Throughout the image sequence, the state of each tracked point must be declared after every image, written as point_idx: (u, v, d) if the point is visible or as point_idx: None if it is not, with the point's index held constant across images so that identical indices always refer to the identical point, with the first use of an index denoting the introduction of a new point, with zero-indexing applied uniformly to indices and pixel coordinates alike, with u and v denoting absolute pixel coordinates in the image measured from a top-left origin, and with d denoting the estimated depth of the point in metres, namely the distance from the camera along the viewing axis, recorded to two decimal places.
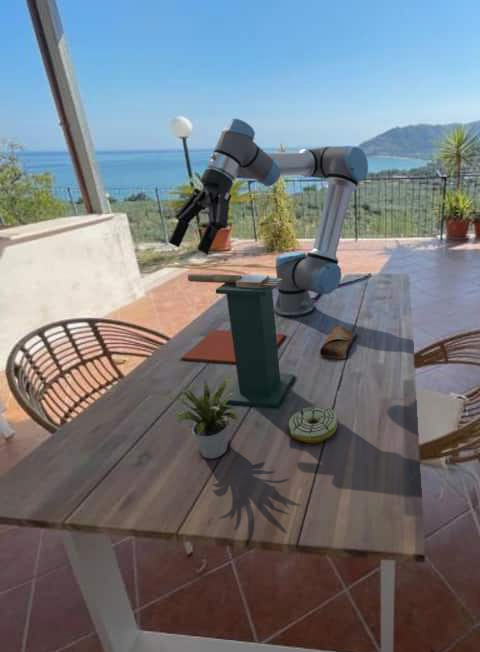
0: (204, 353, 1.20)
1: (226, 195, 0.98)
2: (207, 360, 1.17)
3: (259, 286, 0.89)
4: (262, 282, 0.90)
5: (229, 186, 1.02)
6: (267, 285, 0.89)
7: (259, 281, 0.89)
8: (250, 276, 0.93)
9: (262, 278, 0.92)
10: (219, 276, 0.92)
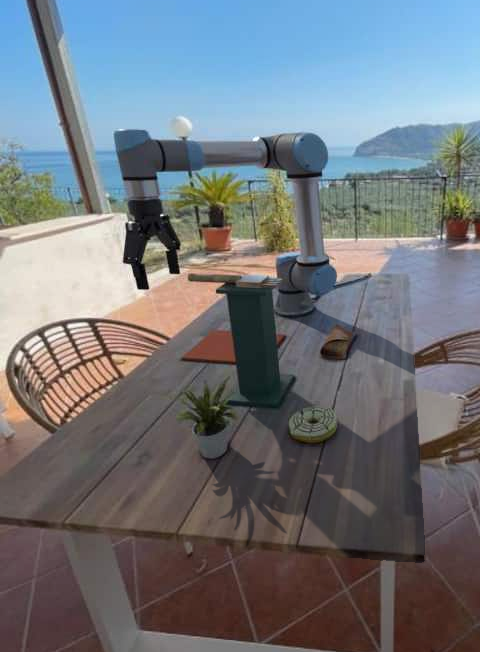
0: (204, 353, 1.20)
1: (129, 226, 0.91)
2: (207, 360, 1.17)
3: (259, 286, 0.89)
4: (262, 282, 0.90)
5: (143, 209, 0.92)
6: (267, 285, 0.89)
7: (259, 281, 0.89)
8: (250, 276, 0.93)
9: (262, 278, 0.92)
10: (219, 276, 0.92)
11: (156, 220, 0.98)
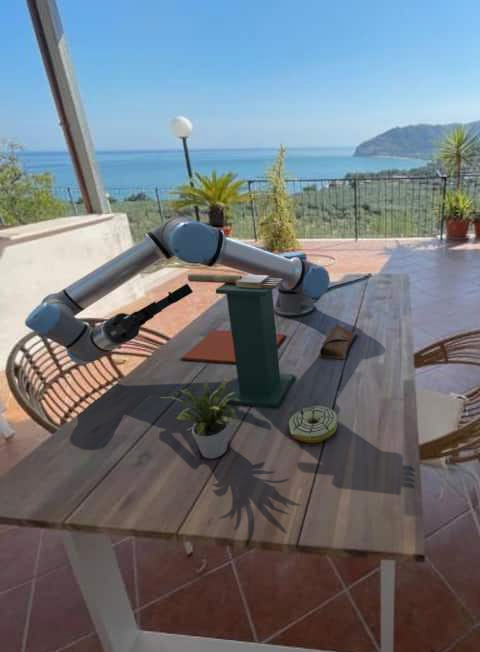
0: (204, 353, 1.20)
1: (113, 334, 0.95)
2: (207, 360, 1.17)
3: (259, 286, 0.89)
4: (262, 282, 0.90)
5: (109, 327, 0.99)
6: (267, 285, 0.89)
7: (259, 281, 0.89)
8: (250, 276, 0.93)
9: (262, 278, 0.92)
10: (219, 276, 0.92)
11: None
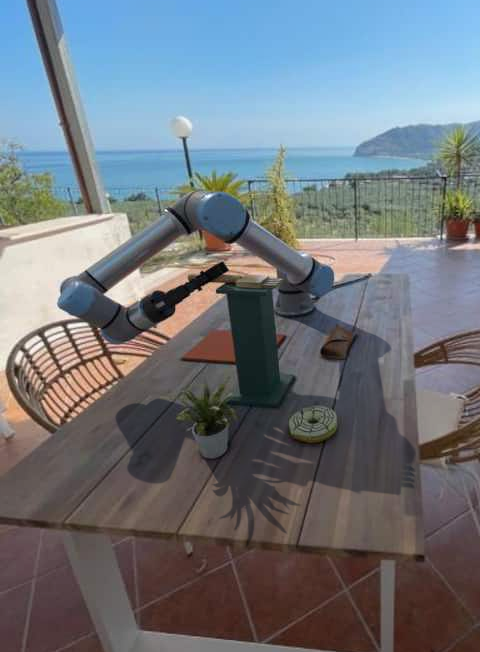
0: (204, 353, 1.20)
1: (160, 305, 0.91)
2: (207, 360, 1.17)
3: (259, 286, 0.89)
4: (262, 282, 0.90)
5: (146, 304, 0.95)
6: (267, 285, 0.89)
7: (259, 281, 0.89)
8: (250, 276, 0.93)
9: (262, 278, 0.92)
10: (219, 276, 0.92)
11: None
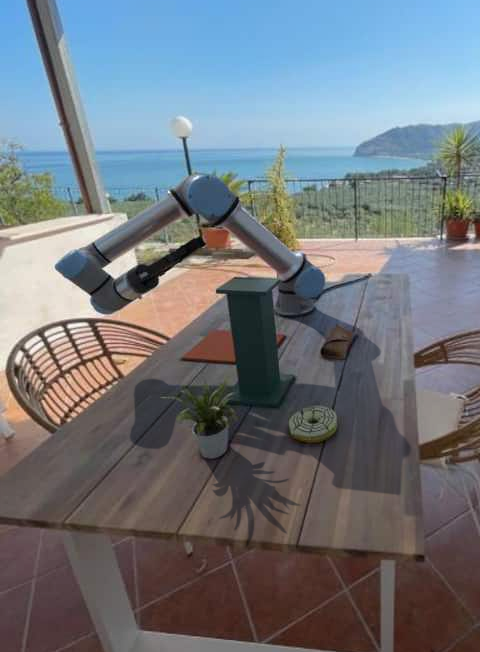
0: (204, 353, 1.20)
1: (144, 275, 1.00)
2: (207, 360, 1.17)
3: (233, 257, 0.99)
4: (235, 254, 1.00)
5: (131, 276, 1.04)
6: (240, 256, 0.99)
7: (233, 253, 0.99)
8: (225, 249, 1.03)
9: (236, 251, 1.01)
10: (197, 249, 1.02)
11: None
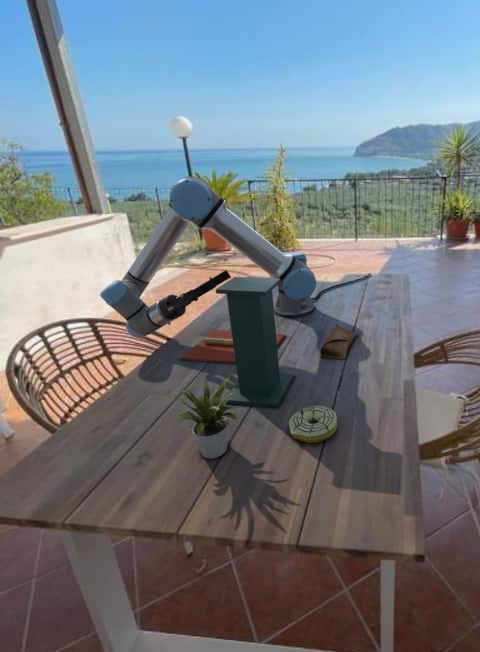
0: (204, 353, 1.20)
1: (170, 309, 1.16)
2: (207, 360, 1.17)
3: None
4: None
5: (163, 306, 1.20)
6: None
7: None
8: None
9: None
10: (227, 340, 1.24)
11: None
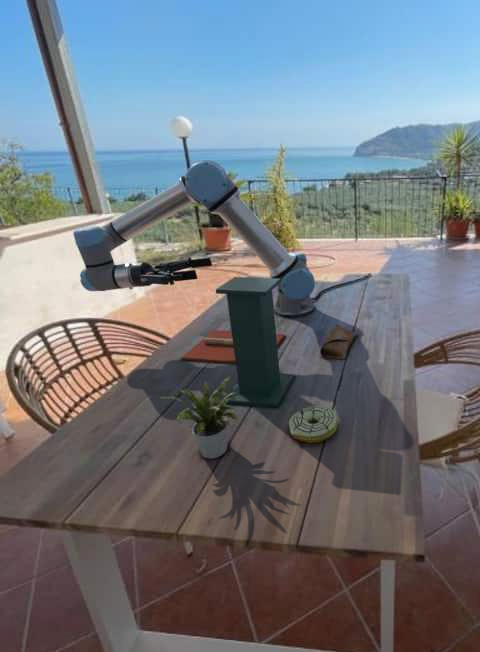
0: (204, 353, 1.20)
1: (143, 280, 1.14)
2: (207, 360, 1.17)
3: None
4: None
5: (135, 272, 1.17)
6: None
7: None
8: None
9: None
10: (227, 340, 1.24)
11: (155, 268, 1.21)
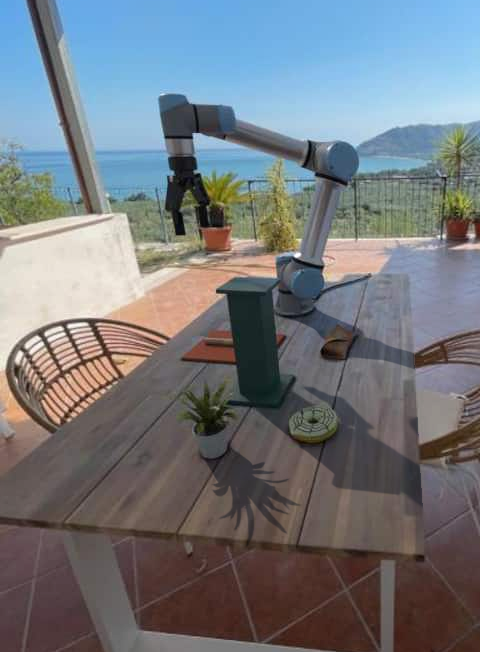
0: (204, 353, 1.20)
1: (170, 178, 1.06)
2: (207, 360, 1.17)
3: None
4: None
5: (181, 164, 1.07)
6: None
7: None
8: None
9: None
10: (227, 340, 1.24)
11: (191, 176, 1.13)
